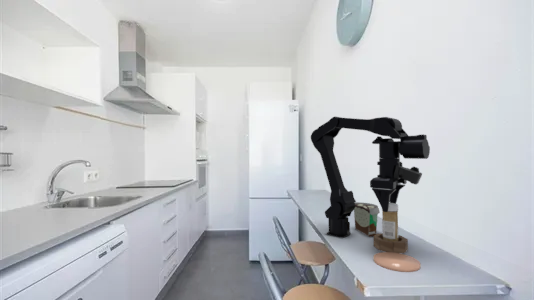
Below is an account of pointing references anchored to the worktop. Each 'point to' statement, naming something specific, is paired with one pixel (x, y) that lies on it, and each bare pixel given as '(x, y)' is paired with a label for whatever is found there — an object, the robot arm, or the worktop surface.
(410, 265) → the peach round disc
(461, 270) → the worktop surface
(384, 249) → the ring
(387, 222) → the sprinkles bottle
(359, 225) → the food container
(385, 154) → the robot arm
